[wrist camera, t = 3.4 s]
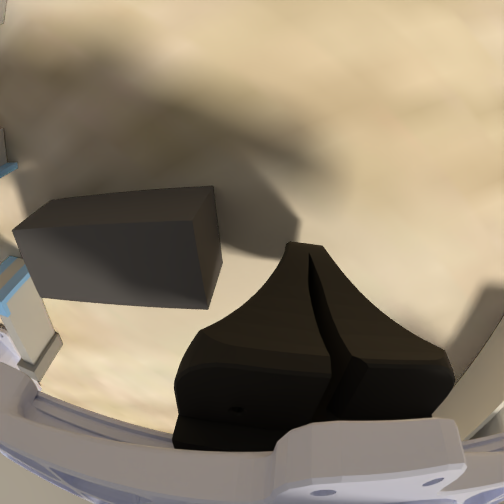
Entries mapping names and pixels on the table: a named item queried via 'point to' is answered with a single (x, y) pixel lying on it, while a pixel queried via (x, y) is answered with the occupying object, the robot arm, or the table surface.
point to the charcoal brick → (126, 248)
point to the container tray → (478, 389)
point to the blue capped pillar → (24, 300)
